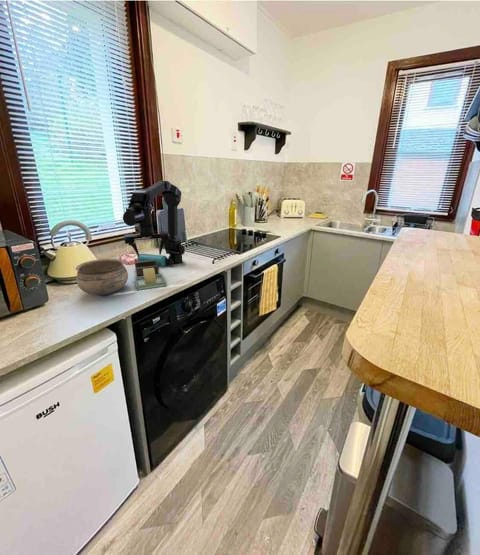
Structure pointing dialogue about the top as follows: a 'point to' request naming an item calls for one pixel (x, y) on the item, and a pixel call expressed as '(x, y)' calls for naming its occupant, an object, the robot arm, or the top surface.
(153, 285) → the tray
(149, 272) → the tape roll
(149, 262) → the tape holder
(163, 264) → the beverage bottle
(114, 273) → the brown bowl
